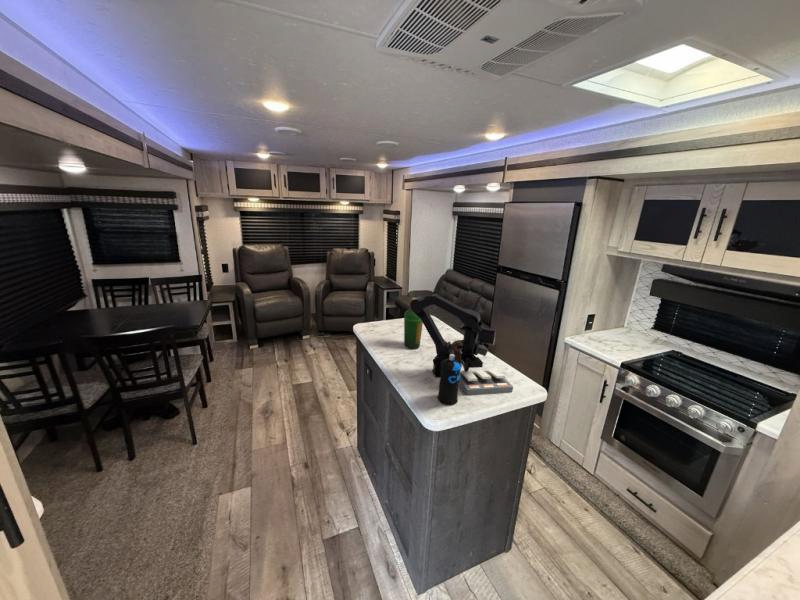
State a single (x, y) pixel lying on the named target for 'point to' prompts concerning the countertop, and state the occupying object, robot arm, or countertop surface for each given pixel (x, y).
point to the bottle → (412, 329)
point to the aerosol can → (449, 381)
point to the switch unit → (484, 385)
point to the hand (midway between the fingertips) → (465, 371)
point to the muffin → (456, 351)
